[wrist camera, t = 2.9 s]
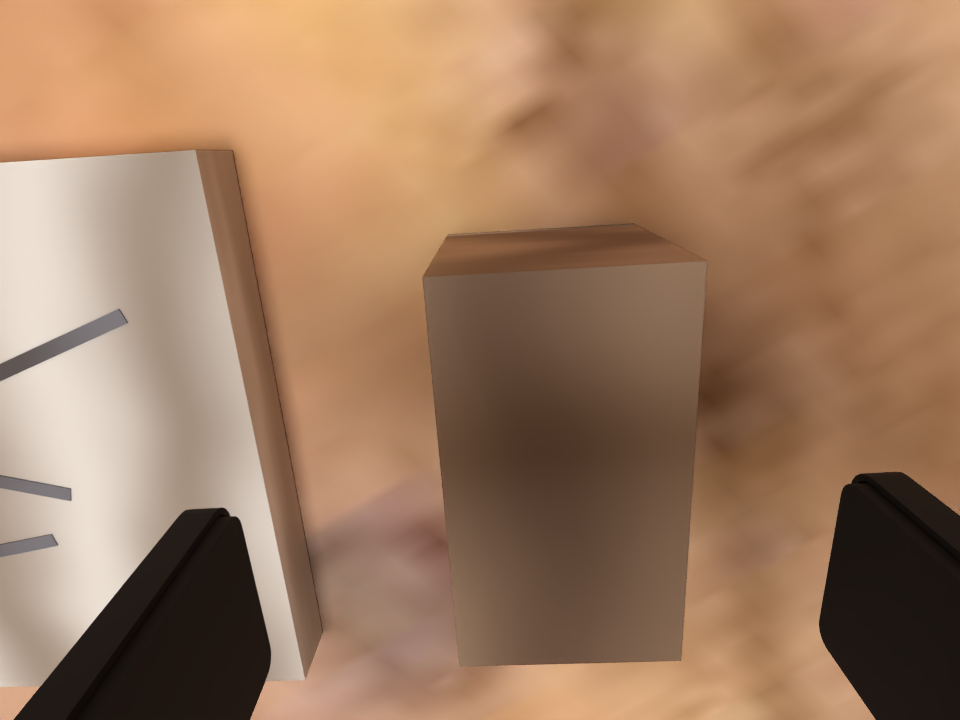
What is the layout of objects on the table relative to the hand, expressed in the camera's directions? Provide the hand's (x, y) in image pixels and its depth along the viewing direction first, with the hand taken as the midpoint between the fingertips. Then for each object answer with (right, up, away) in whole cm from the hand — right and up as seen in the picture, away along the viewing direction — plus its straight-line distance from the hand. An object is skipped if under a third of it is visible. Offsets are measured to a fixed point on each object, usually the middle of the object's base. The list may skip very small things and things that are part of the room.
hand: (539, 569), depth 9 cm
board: (-15, +1, +9) cm, 18 cm away
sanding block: (+1, +3, +8) cm, 9 cm away
